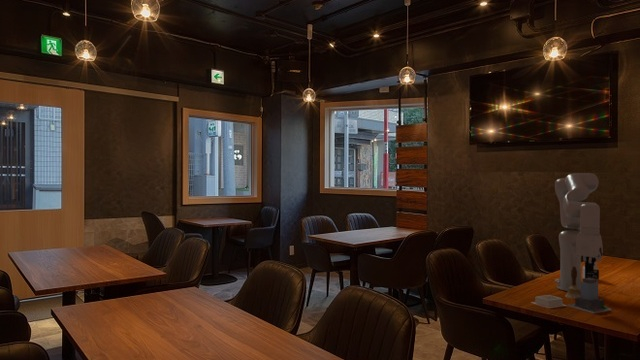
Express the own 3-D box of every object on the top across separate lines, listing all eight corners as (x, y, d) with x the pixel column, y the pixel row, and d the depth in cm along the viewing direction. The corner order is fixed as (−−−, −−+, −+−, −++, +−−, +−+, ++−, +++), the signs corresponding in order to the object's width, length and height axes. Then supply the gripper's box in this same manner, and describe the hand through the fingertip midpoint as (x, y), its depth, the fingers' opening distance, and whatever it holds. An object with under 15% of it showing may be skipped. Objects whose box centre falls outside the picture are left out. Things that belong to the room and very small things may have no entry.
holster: (530, 304, 202) (530, 296, 202) (548, 301, 207) (548, 293, 207) (549, 310, 193) (549, 301, 193) (567, 307, 197) (567, 299, 197)
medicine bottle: (584, 280, 251) (584, 260, 251) (582, 277, 258) (582, 257, 258) (599, 281, 249) (599, 260, 249) (596, 278, 255) (596, 258, 255)
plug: (580, 306, 194) (580, 278, 194) (589, 304, 196) (589, 277, 196) (589, 308, 190) (589, 280, 190) (598, 307, 193) (598, 279, 193)
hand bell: (586, 299, 211) (586, 267, 211) (578, 302, 206) (578, 269, 206) (569, 295, 217) (569, 264, 217) (560, 298, 213) (560, 266, 213)
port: (567, 307, 197) (567, 296, 197) (585, 304, 201) (585, 294, 201) (593, 315, 186) (593, 303, 186) (611, 312, 190) (611, 300, 190)
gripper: (568, 229, 199) (568, 268, 199) (600, 233, 185) (599, 276, 186) (579, 228, 202) (579, 267, 202) (611, 232, 188) (611, 274, 189)
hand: (589, 271), depth 194 cm, fingers closed
